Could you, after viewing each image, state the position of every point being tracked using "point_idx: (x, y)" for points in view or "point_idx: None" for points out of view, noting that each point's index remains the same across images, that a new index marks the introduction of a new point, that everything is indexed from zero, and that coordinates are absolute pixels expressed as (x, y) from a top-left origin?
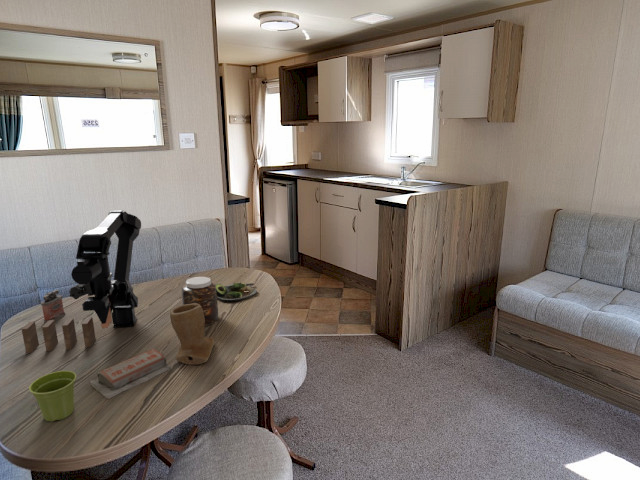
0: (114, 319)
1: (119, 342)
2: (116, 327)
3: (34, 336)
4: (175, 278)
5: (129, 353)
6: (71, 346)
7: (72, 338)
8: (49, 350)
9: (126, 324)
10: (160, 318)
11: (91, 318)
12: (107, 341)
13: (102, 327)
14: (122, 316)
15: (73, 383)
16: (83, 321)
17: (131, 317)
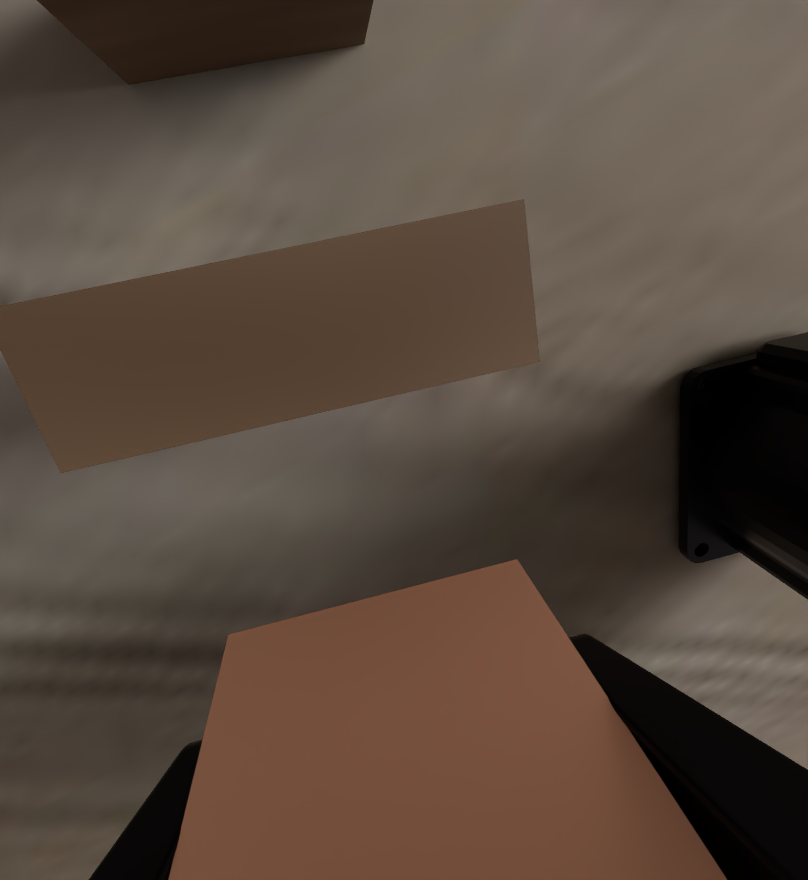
0: (801, 392)
1: (337, 595)
2: (681, 407)
3: None
4: None
5: (129, 775)
6: (124, 71)
7: (186, 14)
8: None
9: (708, 504)
10: (787, 692)
11: (447, 379)
12: (358, 468)
13: (230, 649)
14: (796, 532)
15: None
16: (173, 274)
17: (790, 576)
